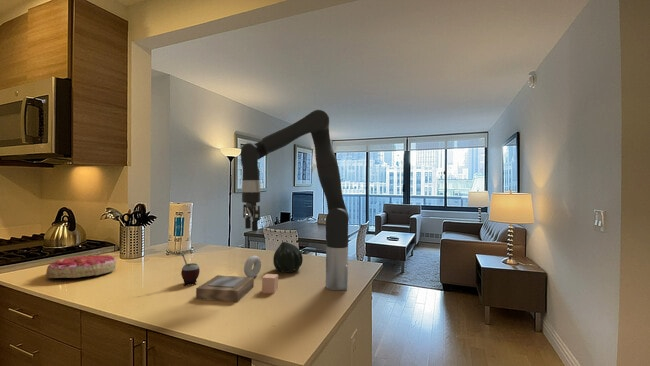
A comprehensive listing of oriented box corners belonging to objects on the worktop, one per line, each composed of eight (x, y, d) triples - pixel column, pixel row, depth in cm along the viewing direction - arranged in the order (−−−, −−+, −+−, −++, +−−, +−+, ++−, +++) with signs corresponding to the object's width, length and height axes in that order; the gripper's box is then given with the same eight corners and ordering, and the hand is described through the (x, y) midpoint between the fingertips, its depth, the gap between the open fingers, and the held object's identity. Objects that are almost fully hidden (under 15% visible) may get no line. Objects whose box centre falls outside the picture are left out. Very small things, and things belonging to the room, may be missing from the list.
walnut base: (253, 287, 122) (253, 276, 122) (237, 302, 106) (237, 290, 106) (217, 284, 124) (217, 274, 124) (196, 299, 108) (196, 287, 108)
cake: (68, 283, 120) (70, 263, 120) (31, 278, 128) (33, 259, 129) (127, 271, 143) (128, 254, 143) (93, 267, 151) (94, 252, 152)
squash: (312, 259, 148) (297, 235, 153) (294, 267, 136) (277, 240, 141) (296, 274, 154) (281, 250, 159) (277, 283, 142) (261, 256, 147)
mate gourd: (202, 282, 127) (203, 247, 127) (187, 288, 120) (188, 251, 120) (190, 280, 130) (191, 245, 130) (174, 285, 123) (175, 249, 123)
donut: (247, 281, 130) (248, 258, 130) (241, 279, 131) (242, 257, 131) (262, 275, 139) (263, 253, 139) (256, 274, 140) (257, 253, 140)
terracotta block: (277, 289, 121) (278, 274, 121) (274, 293, 116) (274, 278, 116) (266, 288, 121) (266, 273, 121) (262, 292, 116) (262, 277, 116)
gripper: (265, 191, 121) (266, 230, 121) (253, 191, 133) (254, 227, 133) (247, 191, 117) (248, 232, 116) (237, 191, 129) (237, 228, 128)
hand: (251, 229), depth 125 cm, fingers open, 8 cm apart
